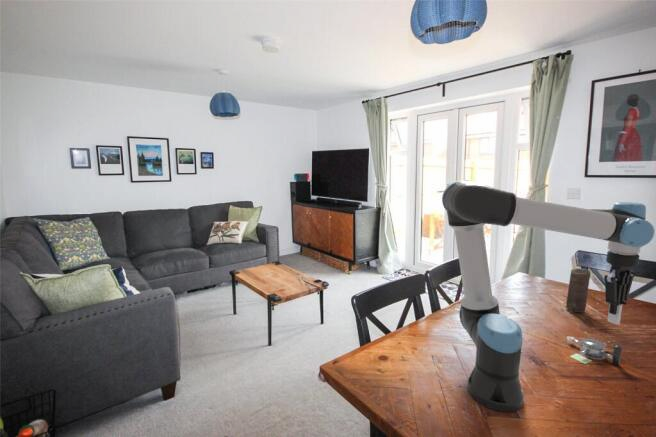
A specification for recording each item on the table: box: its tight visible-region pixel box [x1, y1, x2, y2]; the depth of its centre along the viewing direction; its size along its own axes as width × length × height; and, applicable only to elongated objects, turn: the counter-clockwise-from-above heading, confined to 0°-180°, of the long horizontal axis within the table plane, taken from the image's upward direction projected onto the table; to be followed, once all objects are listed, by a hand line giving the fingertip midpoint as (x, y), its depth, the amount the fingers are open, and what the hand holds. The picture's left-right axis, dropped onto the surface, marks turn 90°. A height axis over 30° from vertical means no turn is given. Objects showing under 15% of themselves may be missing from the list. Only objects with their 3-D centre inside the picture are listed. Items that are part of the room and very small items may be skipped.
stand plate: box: [569, 348, 606, 365], centre depth 119 cm, size 20×13×1 cm, turn 114°
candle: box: [565, 268, 591, 313], centre depth 154 cm, size 8×7×20 cm
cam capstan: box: [566, 335, 623, 366], centre depth 119 cm, size 15×17×7 cm
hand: (613, 322), depth 107 cm, fingers closed
